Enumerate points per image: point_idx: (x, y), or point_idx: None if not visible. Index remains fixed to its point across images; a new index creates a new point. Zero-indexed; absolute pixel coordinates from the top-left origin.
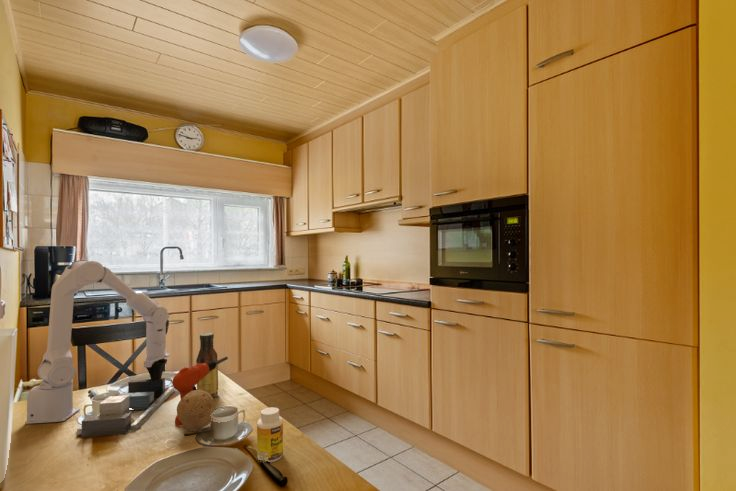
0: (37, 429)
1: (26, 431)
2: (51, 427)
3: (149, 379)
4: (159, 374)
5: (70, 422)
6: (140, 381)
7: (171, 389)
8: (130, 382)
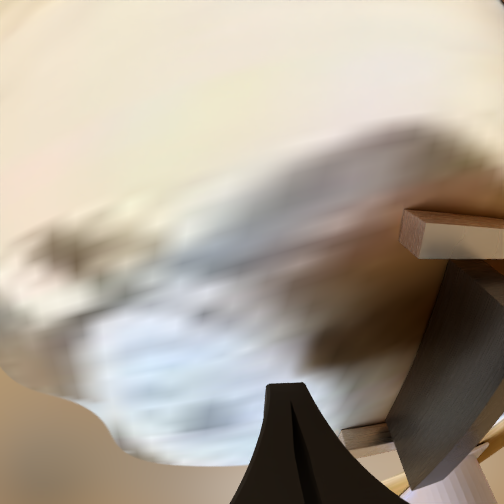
0: (490, 449)
1: (485, 456)
2: (499, 437)
3: (471, 428)
4: (341, 443)
5: (501, 425)
6: (475, 445)
7: (471, 225)
8: (448, 473)
